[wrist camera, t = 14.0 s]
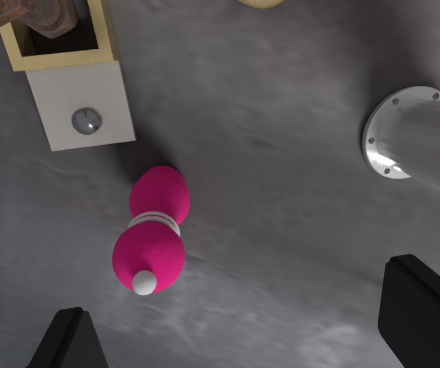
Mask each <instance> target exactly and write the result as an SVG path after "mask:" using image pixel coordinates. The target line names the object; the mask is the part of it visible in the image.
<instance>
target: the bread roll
mask: <svg viewBox="0 0 440 368" xmlns="http://www.w3.org/2000/svg"><path fill="white" fill-rule="evenodd" d="M238 1H240V2H242V3H244V4H246V5H248V6H251V7H255V8H262V9H264V8H269V7H273V6H275V5H277V4H279V3H281V2H282V1H283V0H238Z"/></svg>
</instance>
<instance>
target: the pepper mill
mask: <svg viewBox="0 0 440 368" xmlns="http://www.w3.org/2000/svg"><path fill="white" fill-rule="evenodd" d="M129 205H130V211H131V214H132V216H133V218H134V219H133V220H132V221H131V223H130V224H129V226H128V229H127V230H126V231H125V232H124V233H123V234H121V235H120V237H119V239H118V240H117V242H116V244H115V247H114V250H113V255H112V264H113V269H114V272H115V275H116V276H117V278H118V279H119V280H120V282H121V283H122V284H123V285H125V286H126V287H127V288H129V289H131V290H133V291H135V292H136V293H137V294H139V295H148V294H150V293H154V292H158V291H161V290H163V289H165V288H167V287H168V286H170V285H171V284H172V283H173V282H174V281H175V280H176V279H177V278H178V276H179V275H180V273H181V271H182V268H183V266H184V261H185V250H184V245H183V242H182V240H181V238H180V230H179V227H178V225H179V224H180V223H181V222H182V221H183V220H184V218H185V217H186V215H187V213H188V210H189V206H190V194H189V190H188V188H187V186H186V182H185V179H184V177H183V176H182V175H181V173H179V172H178V171H177V170H176V169H174V168H172V167H169V166H155V167H152V168H150V169H149V170H147V171H146V172H145V173H144V174H143V176H142V177H141V178H140V179H139V180H138V181H137V182H136V183H135V184H134V186H133V188H132V190H131V194H130V198H129Z"/></svg>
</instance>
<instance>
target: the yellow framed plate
mask: <svg viewBox="0 0 440 368" xmlns="http://www.w3.org/2000/svg"><path fill="white" fill-rule="evenodd" d="M87 1H88V5H89V9H90V13H91V18H92V22H93V26H94V30H95V35H96V39H97V43H98V47H99V49H93V50H84V51H75V52H65V53H56V54H47V55H37V53H36V50H35V47H34V43H33V40H32V37H31V34H30V31H29V27H28V25H26V24H25V23H24V22H22V21H21V20H20V19H18V18H16V19H14V20H12V21H11V22H9V23H7V24H5V25H4V26H2V27H0V33H1V36H2V39H3V42H4V44H5V47H6V50H7V53H8V56H9V59H10V62H11V65H12V68H13V70H14V71H25V72H26V75H27V78H28V81H29V84H30V87H31V90H32V93H33V96H34V99H35V102H36V105H37V108H38V111H39V114H40V117H41V120H42V123H43V126H44V129H45V132H46V135H47V138H48V141H49V144H50V147H51V150H52V151H57V150H65V149H73V148H81V147H88V146H96V145H104V144H112V143H120V142H128V141H136V139H137V135H136V130H135V125H134V121H133V116H132V111H131V107H130V102H129V97H128V93H127V88H126V83H125V79H124V74H123V70H122V65H121V60H120V56H119V51H118V46H117V42H116V37H115V32H114V28H113V23H112V18H111V14H110V9H109V4H108V0H87Z"/></svg>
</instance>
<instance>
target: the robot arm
mask: <svg viewBox="0 0 440 368" xmlns="http://www.w3.org/2000/svg"><path fill="white" fill-rule="evenodd" d="M362 150H363V154H364V158H365V160H366V161H367V163H368V165H369V166H370V167H371V168H372V169H373V170H374V171H376V172H377V173H379V174H381V175H383V176H385V177H388V178H392V179H402V178H408V177H414V178H416V179H418V180H420V181H422V182H424V183H426V184H428V185H430V186H433V187H435V188H437V189H439V190H440V91H439V90H437V89H435V88H431V87H426V86H411V87H406V88H403V89H400V90H398V91H396V92H394V93H392V94H390V95H389V96H388V97H386V98H385V99H384V100H383V101H382V102H381V103H380V104H379V105H378V106H377V107H376V108H375V109H374V111H373V112H372V114H371V115H370V117H369V119H368V121H367V123H366V125H365V128H364V132H363V137H362ZM378 329H379V332H380V334H381V336H382V338H383V339H384V340H385V342H386V343H387V344H388V346H389V347H390V348H391V350H392V351H393V353H394V354H395V355H396V357H397V358H398V359H399V361H400V362H401V363H402V365H403V366H404V368H440V276H439V275H438V274H437V273H435V272H434V271H433V270H432V269H430V268H429V267H428V266H427V265H425V264H424V263H423V262H422V261H421V260H419V259H418V258H417V257H416V256H414V255H412V254H406V255H400V256H394V257H391V258H390V260H389V262H388V263H386V266H385V273H384V280H383V288H382V295H381V303H380V310H379V318H378ZM26 368H109V367H108V364H107V362H106V359H105V356H104V353H103V351H102V348H101V345H100V342H99V339H98V337H97V334H96V331H95V328H94V326H93V323H92V320H91V317H90V315H89V312H88V311H83V309H82V308H81V307H75V308H69V309H62V310H59V311H58V312H57V313H56V315H55V317H54V318H53V320H52V322H51V324H50V326H49V328H48V330H47V332H46V333H45V335H44V337H43V339H42V341H41V343H40V345H39V347H38V348H37V350H36V352H35V354H34V356H33V358H32V360H31V362H30V363H29V365H28V366H27V367H26Z"/></svg>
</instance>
